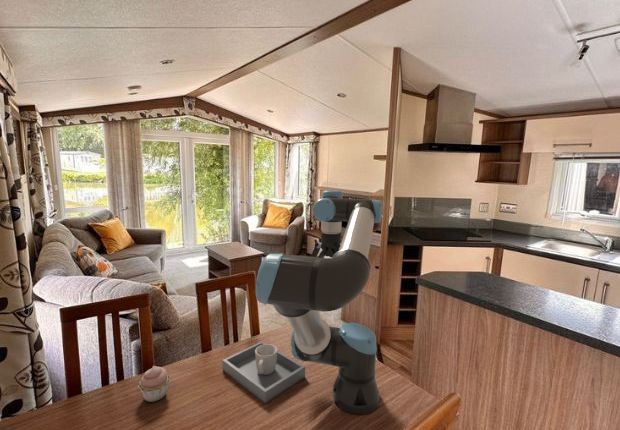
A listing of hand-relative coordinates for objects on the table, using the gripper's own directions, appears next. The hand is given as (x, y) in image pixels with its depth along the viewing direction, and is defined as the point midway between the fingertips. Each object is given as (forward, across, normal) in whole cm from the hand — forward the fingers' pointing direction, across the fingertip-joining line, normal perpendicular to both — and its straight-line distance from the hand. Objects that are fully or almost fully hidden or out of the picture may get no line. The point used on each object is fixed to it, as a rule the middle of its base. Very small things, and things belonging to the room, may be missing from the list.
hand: (329, 287), depth 119 cm
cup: (+28, +9, +24) cm, 38 cm away
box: (+29, +10, +24) cm, 39 cm away
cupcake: (+29, +26, +55) cm, 67 cm away
